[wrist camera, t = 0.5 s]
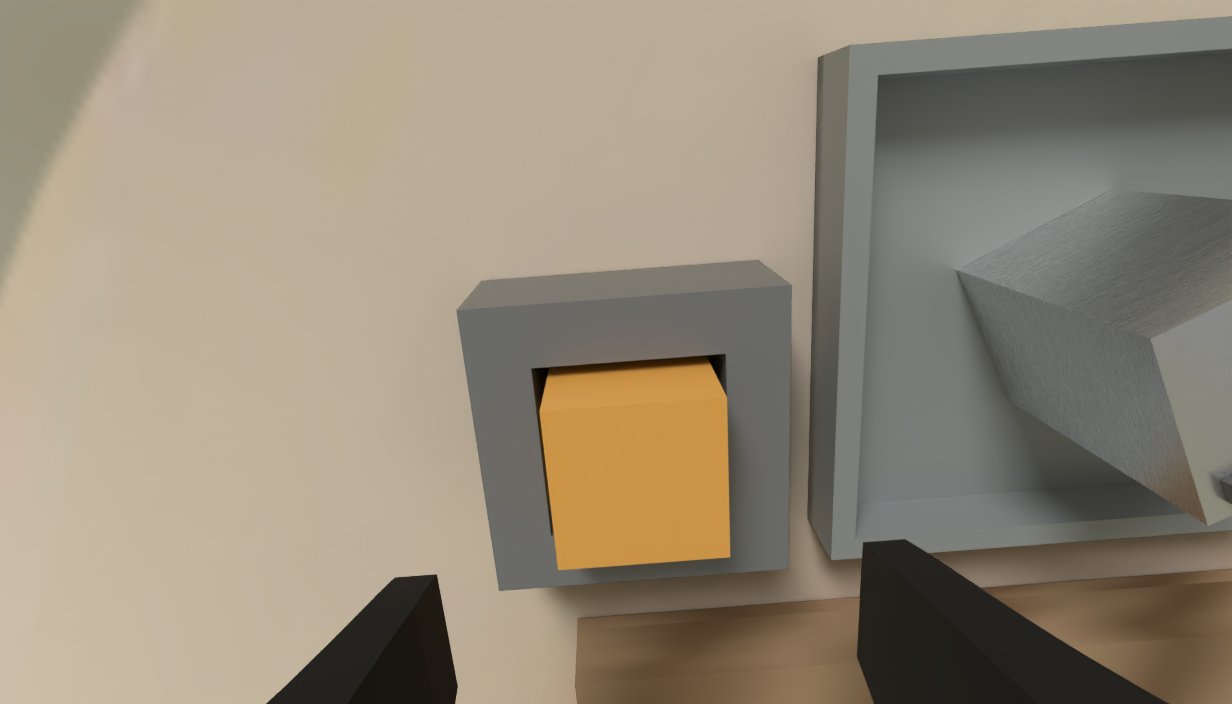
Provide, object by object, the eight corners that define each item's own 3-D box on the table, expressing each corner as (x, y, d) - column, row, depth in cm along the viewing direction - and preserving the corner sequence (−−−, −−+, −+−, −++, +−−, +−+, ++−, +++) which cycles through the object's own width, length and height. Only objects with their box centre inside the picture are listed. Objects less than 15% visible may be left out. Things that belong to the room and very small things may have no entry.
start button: (703, 349, 15) (726, 396, 12) (707, 485, 16) (730, 557, 14) (550, 361, 15) (539, 411, 12) (565, 495, 16) (557, 570, 14)
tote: (1345, 17, 15) (1454, -1, 13) (1229, 486, 19) (1300, 524, 17) (817, 57, 15) (849, 45, 13) (807, 517, 19) (831, 560, 17)
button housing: (758, 260, 16) (791, 285, 14) (759, 503, 19) (788, 568, 16) (481, 281, 16) (456, 310, 14) (514, 521, 19) (499, 590, 16)
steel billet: (1112, 188, 16) (1422, 217, 10) (1154, 327, 17) (1455, 429, 11) (955, 269, 16) (1161, 342, 10) (1007, 398, 17) (1218, 532, 11)
